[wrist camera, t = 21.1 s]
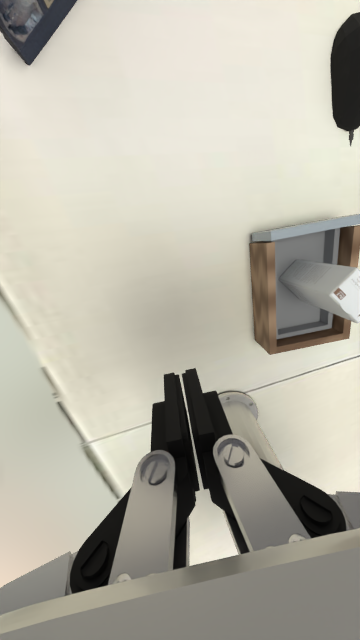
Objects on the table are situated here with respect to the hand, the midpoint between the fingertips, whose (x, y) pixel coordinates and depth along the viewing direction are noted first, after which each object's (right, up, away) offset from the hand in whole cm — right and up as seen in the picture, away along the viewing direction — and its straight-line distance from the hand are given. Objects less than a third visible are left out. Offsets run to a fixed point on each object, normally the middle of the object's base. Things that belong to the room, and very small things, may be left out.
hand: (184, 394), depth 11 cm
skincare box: (+20, +11, +25) cm, 33 cm away
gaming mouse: (+24, +36, +19) cm, 47 cm away
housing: (+20, +10, +27) cm, 35 cm away
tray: (+20, +11, +26) cm, 34 cm away
